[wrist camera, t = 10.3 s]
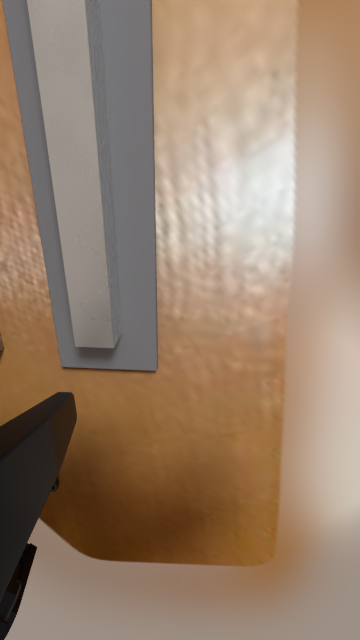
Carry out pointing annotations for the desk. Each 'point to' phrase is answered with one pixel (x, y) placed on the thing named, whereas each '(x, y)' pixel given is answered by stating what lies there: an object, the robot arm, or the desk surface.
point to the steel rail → (80, 161)
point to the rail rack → (1, 344)
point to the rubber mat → (127, 176)
